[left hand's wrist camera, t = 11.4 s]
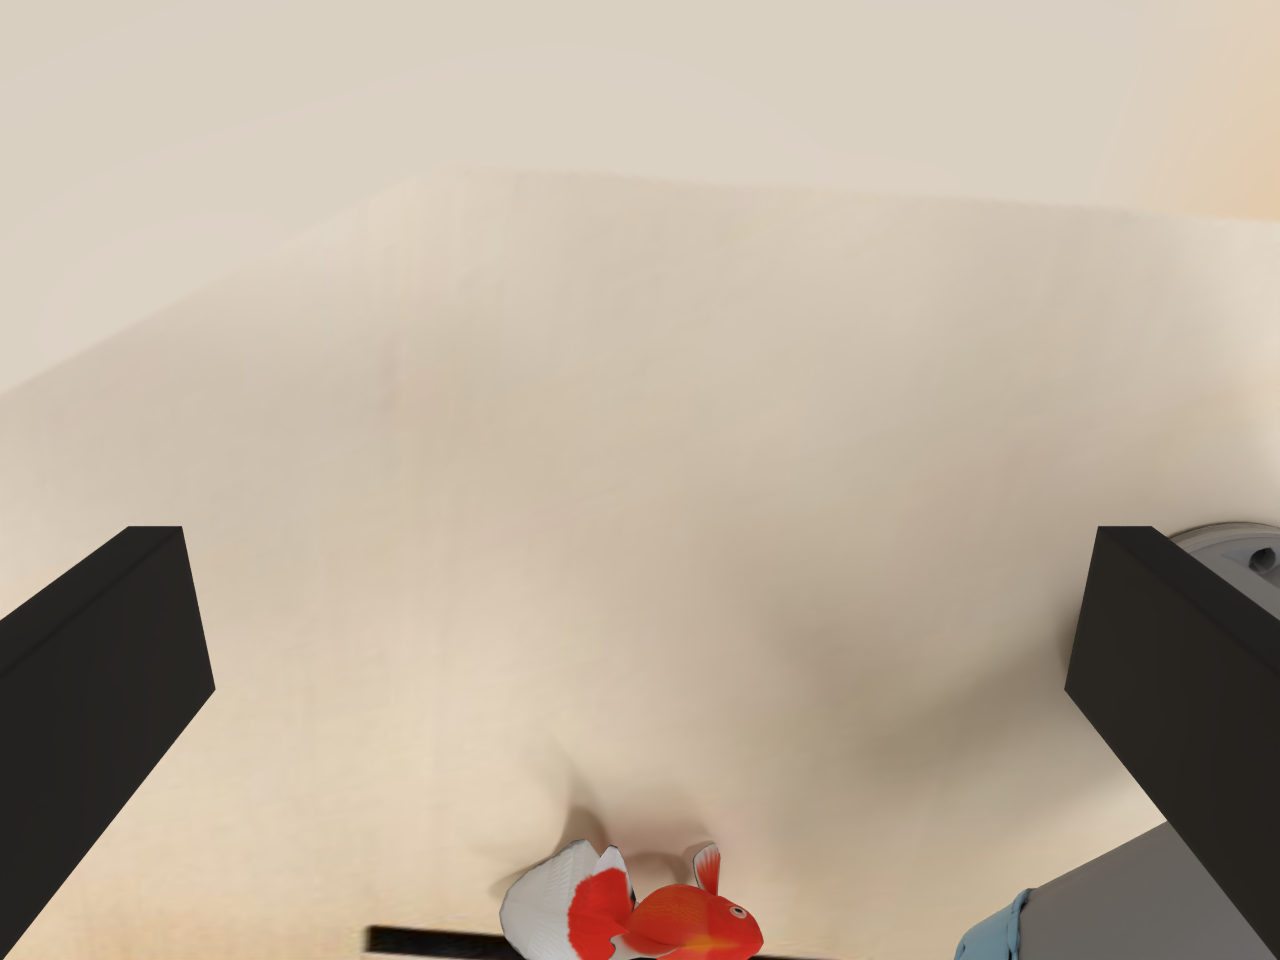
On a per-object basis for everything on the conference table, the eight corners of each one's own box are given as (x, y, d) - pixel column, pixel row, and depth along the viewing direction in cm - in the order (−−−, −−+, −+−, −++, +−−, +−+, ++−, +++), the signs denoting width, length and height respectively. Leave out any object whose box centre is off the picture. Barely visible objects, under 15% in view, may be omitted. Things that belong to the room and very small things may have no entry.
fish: (736, 1033, 54) (693, 1133, 45) (525, 915, 59) (447, 982, 50) (791, 872, 54) (759, 938, 44) (574, 768, 59) (504, 807, 50)
